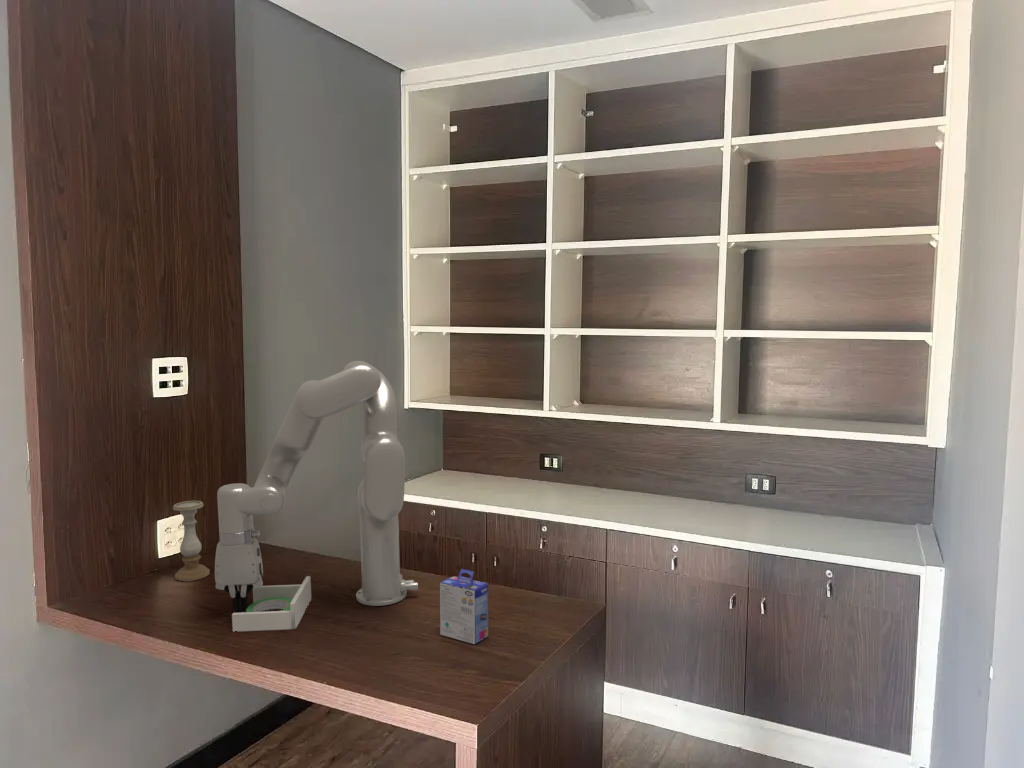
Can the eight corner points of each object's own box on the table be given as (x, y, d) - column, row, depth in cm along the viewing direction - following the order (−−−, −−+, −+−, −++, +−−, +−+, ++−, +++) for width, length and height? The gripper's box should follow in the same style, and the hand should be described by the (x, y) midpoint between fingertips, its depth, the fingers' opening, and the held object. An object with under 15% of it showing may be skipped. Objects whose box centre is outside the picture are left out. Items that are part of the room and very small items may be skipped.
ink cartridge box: (490, 635, 158) (489, 572, 157) (476, 645, 154) (474, 580, 152) (454, 626, 163) (452, 564, 162) (439, 635, 159) (437, 572, 157)
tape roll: (279, 629, 164) (278, 617, 164) (236, 624, 167) (236, 613, 166) (304, 609, 175) (303, 598, 174) (264, 605, 177) (263, 595, 177)
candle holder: (179, 584, 191) (174, 510, 189) (171, 575, 198) (166, 503, 196) (213, 576, 197) (209, 504, 195) (204, 567, 203) (200, 498, 201)
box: (311, 599, 180) (310, 576, 179) (295, 629, 163) (294, 603, 162) (254, 601, 179) (253, 578, 178) (232, 631, 162) (231, 606, 161)
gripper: (273, 530, 173) (276, 604, 175) (209, 532, 172) (214, 606, 174) (264, 540, 165) (268, 617, 167) (198, 542, 164) (202, 619, 166)
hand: (240, 611), depth 170 cm, fingers closed
